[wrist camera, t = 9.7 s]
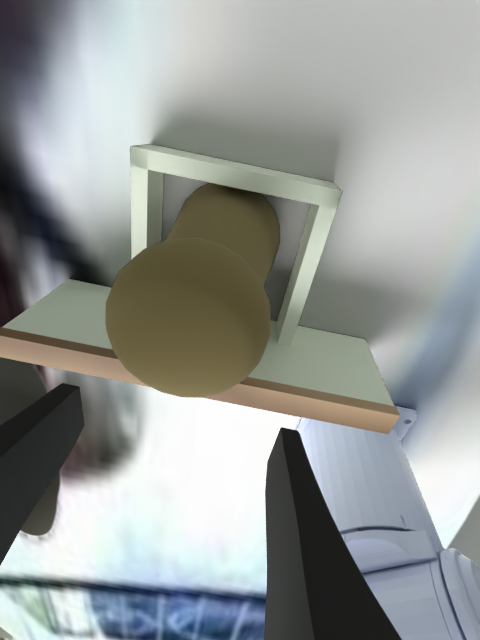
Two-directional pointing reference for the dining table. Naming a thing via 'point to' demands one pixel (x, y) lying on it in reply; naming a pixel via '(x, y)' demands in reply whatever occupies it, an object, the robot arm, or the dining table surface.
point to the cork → (198, 296)
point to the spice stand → (286, 336)
